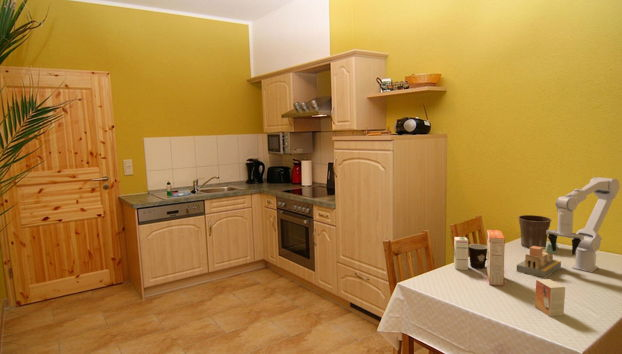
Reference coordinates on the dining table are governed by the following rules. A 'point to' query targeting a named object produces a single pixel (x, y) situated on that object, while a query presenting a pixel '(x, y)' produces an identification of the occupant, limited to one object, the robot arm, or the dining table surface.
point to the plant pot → (534, 230)
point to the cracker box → (495, 257)
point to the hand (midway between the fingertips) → (563, 252)
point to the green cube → (549, 248)
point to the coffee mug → (477, 255)
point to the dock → (542, 271)
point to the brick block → (536, 251)
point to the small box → (550, 297)
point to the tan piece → (538, 259)
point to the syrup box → (461, 253)
